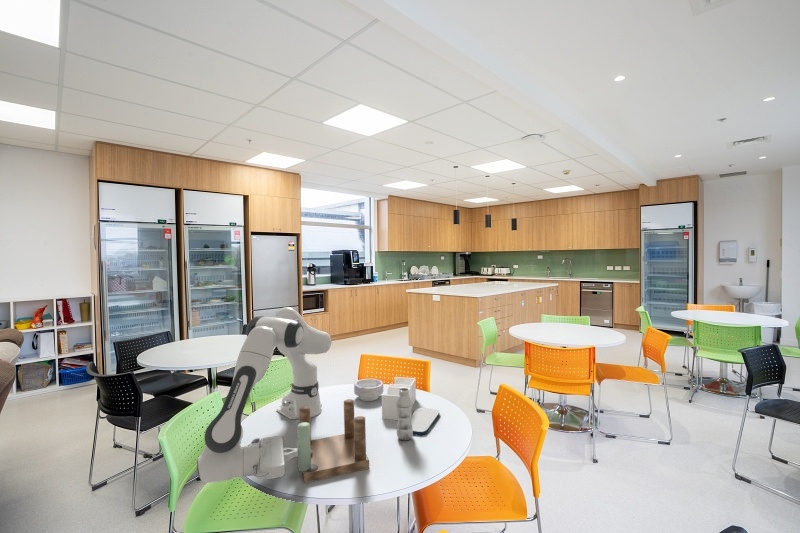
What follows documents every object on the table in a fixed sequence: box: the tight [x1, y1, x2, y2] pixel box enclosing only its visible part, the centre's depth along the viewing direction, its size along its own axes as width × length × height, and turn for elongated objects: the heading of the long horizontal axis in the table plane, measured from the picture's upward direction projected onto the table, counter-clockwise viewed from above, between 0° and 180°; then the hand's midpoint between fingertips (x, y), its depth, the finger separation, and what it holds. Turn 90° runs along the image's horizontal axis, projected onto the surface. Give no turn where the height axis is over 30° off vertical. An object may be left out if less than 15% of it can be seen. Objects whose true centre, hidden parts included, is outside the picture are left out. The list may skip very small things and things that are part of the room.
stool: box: [298, 398, 370, 483], centre depth 137 cm, size 22×22×17 cm
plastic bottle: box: [396, 388, 414, 441], centre depth 152 cm, size 6×7×20 cm
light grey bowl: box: [353, 378, 384, 402], centre depth 196 cm, size 15×15×8 cm
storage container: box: [381, 376, 417, 420], centre depth 182 cm, size 25×11×11 cm, turn 167°
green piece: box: [297, 422, 313, 472], centre depth 130 cm, size 12×4×14 cm, turn 6°
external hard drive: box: [411, 407, 440, 436], centre depth 166 cm, size 24×12×2 cm, turn 158°
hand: (298, 452), depth 126 cm, fingers closed, pressing on green piece
